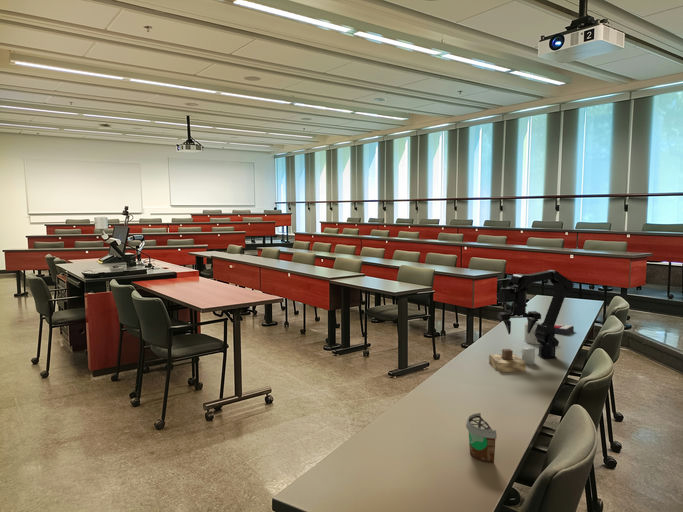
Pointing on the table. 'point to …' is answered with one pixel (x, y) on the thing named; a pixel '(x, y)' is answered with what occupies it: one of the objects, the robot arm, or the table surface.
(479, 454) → the food container
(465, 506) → the table surface
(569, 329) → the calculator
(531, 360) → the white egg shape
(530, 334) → the mug
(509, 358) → the square peg
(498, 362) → the socket block
